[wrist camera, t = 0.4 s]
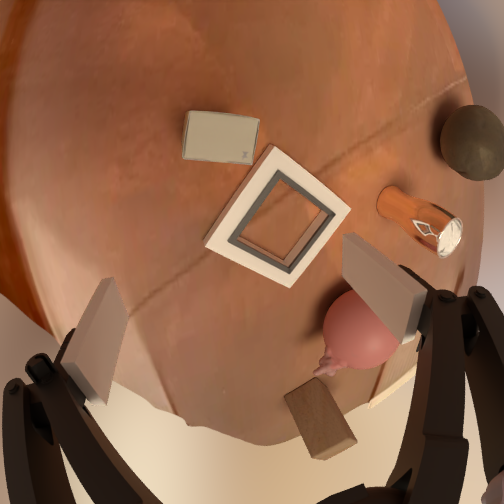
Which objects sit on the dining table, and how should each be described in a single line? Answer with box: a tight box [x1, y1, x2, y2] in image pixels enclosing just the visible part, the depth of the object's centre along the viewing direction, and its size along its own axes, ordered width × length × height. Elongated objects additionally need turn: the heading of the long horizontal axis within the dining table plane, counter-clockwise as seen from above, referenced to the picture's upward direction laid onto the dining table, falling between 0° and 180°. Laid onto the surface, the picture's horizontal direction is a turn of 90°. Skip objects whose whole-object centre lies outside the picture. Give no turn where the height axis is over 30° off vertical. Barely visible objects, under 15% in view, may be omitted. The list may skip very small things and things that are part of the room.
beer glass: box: [377, 186, 463, 259], centre depth 39 cm, size 7×7×15 cm
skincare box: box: [181, 111, 260, 165], centre depth 27 cm, size 6×4×12 cm
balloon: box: [313, 289, 400, 376], centre depth 48 cm, size 15×20×15 cm
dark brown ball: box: [440, 105, 504, 181], centre depth 35 cm, size 14×14×15 cm
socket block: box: [203, 144, 351, 288], centre depth 40 cm, size 16×16×2 cm
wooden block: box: [284, 378, 357, 460], centre depth 60 cm, size 10×10×20 cm
